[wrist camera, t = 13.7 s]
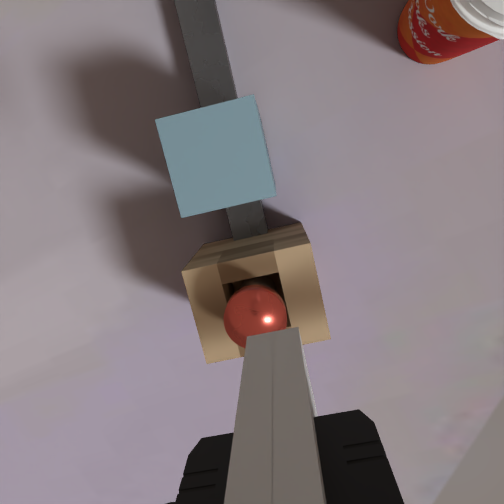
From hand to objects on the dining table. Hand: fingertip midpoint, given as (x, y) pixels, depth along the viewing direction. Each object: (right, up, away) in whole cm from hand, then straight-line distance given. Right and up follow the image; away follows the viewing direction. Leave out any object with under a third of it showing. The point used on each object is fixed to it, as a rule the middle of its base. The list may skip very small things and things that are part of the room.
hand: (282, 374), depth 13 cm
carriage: (-2, +12, +26) cm, 28 cm away
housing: (0, +2, +28) cm, 28 cm away
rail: (-4, +17, +25) cm, 30 cm away
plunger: (0, +1, +21) cm, 21 cm away
